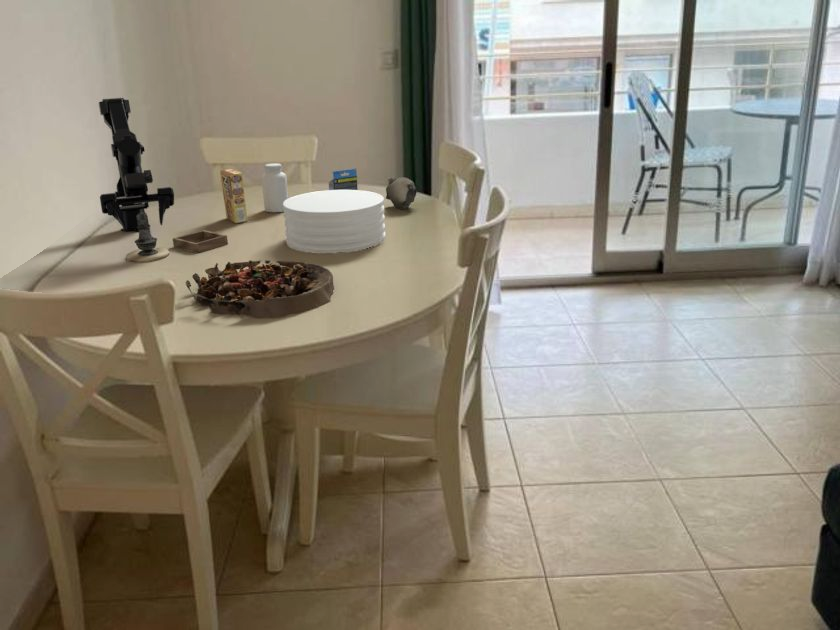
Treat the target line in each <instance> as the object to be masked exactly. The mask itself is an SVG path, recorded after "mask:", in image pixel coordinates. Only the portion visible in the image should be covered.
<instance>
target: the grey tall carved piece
mask: <svg viewBox="0 0 840 630" xmlns="http://www.w3.org/2000/svg"><path fill="white" fill-rule="evenodd" d="M145 213H146V212H145ZM145 213H143V212H142V210H140V213H139V214H138V215H137V223H138V226H137V228H138V231H137V232H138V238H137V239H135V240H134V243H135V245H136V247H137V248H138V250H139V249H140V250H142V251H140V252H139V253H138V255H140V256H149V255H154V254H156V253H158V251H157V250H155V249H153V248H156V246H157V241H158V238H157V237H153V235H152V233H151V228H150V227H151V225H150V223H149V218H148V213H146V214H145Z"/></svg>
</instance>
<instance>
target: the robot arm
mask: <svg viewBox="0 0 840 630" xmlns="http://www.w3.org/2000/svg"><path fill="white" fill-rule="evenodd" d="M98 108H99V112H100V113H99V114H100V116H103V122H104V123H105V125H106V126H107V127H108V129H110V131H111V135H112V136H111V139H112V143H111V144H110V146H111V147H110V148H111V154H112V157H113V158H115V160H116V163H117V169H118V173H119V178H118V181H117V183H116V191H114V192H111V193H109V192H108V193H102V194H100V196H99V200H100V201H99V202H100V208H101V213H102V214H105V215H106V214H107V216H112V217H113V218H114V219H115V220H116V221H117V222H118V223H119V224H120V225H121V227H122V228H120V231H121V232H124V231H125V232H126V231H127V232H129V231H130V232H139V231H138V228H137V226H138V223H137V215H138V214H139V213H140V210H142V212H143V213H145V214H147V212H146V211H145V210H146V209H148V208H149V207H150V205H149V203H154V202H158V217H159V224H160V226H163V221H164V217H165V216H164V215H165V212H166V210H168V209H170V207H172V206H173V205H175V192H174V189H173V188H172V187H171V186H165V187H157V190H156V191H157V192H156V193H150V194H148V192H149V189H148V184H153V180H154V179H153V174H152V170H151V169H147V170H146V169H145V170H143V169H142V168H143V167H142V155H144V152H145V147H144V146H143V144H142V143H141V142H140V141H138V139H137V135H136V134H135V133H134V132H133V131H131V129H130V126H129V118H130V115H129V114H131V113H132V112H131V106H130V100H129V99H124V97H115V98H114V97H113V98H102V100H101V101H99V102H98Z"/></svg>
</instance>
